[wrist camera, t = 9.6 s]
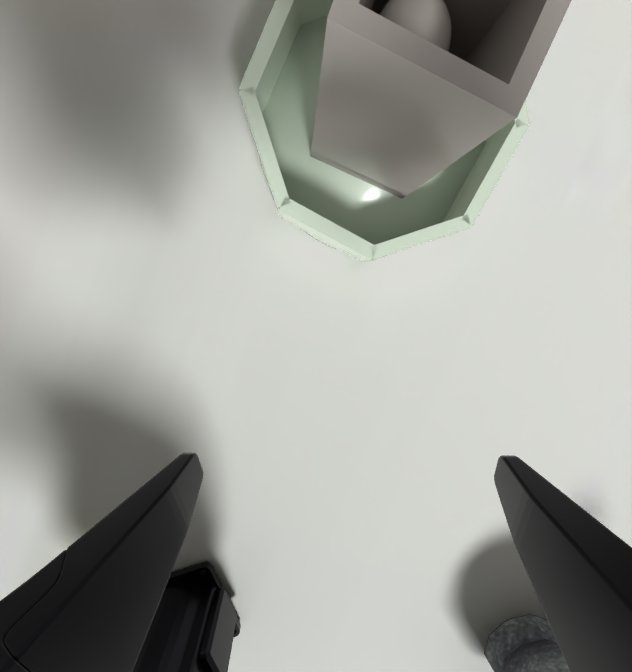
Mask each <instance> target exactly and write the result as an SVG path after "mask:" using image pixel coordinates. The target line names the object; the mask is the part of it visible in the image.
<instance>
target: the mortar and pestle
mask: <svg viewBox="0 0 632 672" xmlns="http://www.w3.org/2000/svg"><path fill="white" fill-rule="evenodd" d="M484 654H485V656H486V658H487V660H488V662H489V663H490V665H491V667H492V669H493V670H494V672H570V670H569V668H568V666H567V663H566V661H565V659H564V657H563V654H562V652H561V650H560V647H559V645H558V643H557V640H556V638H555V636H554V634H553V631H552V629H551V627H550V624H549V622H548V620H545V619H542V618H540V617H537V616H534V615H531V614H530V615H526V616H522V617H517V618H513V619H509V620H507V621H505V622H504V623H503V624H502V625H501V626H500V627H498V628H497V629H496V630H495V631H494V632H493V633H491V634H490V636H489V639H488V643H487V646H486V650H485V653H484Z"/></svg>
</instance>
